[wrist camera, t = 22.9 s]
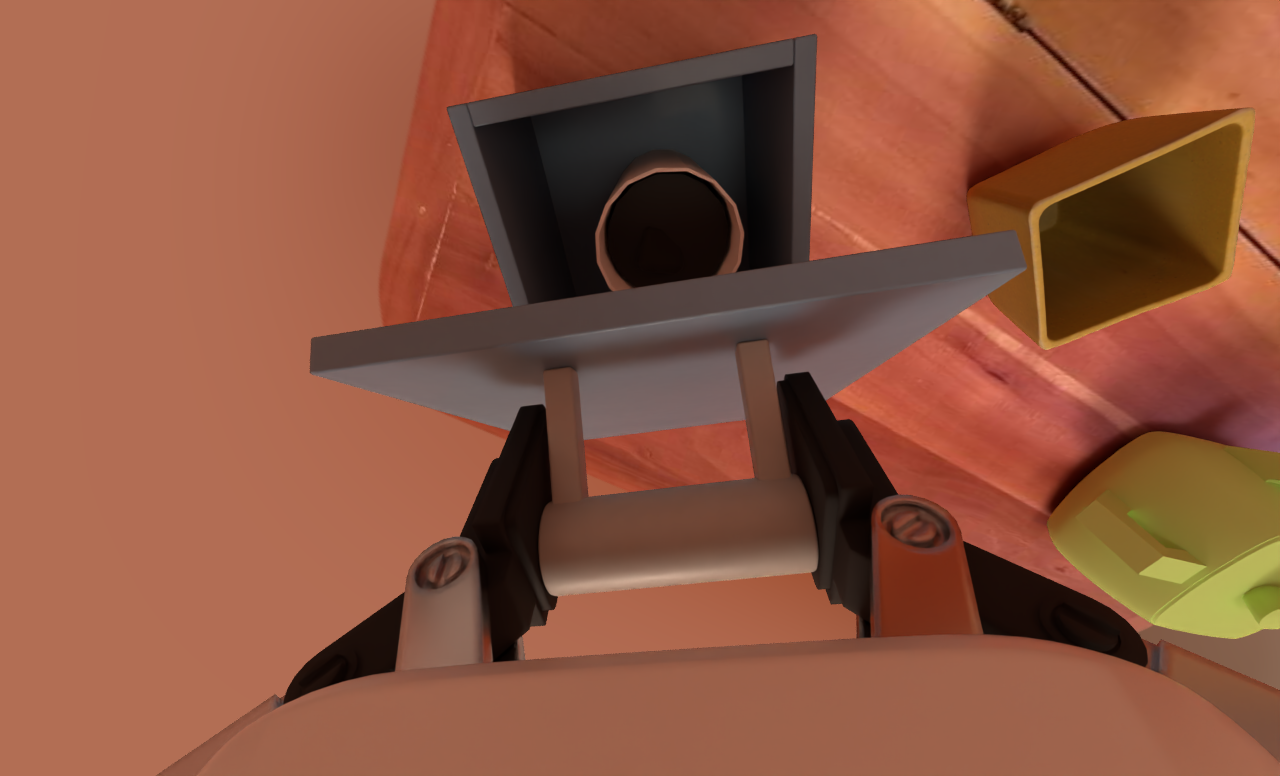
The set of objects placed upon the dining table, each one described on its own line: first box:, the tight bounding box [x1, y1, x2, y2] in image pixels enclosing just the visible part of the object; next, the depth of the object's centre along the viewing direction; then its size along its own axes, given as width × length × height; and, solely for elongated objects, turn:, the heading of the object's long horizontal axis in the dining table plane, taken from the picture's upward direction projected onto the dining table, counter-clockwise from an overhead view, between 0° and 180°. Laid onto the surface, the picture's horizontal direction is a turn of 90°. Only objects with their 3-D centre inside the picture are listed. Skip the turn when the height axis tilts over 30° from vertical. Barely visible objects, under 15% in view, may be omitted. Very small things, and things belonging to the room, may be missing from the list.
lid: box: [310, 230, 1027, 596], centre depth 16 cm, size 16×14×6 cm
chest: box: [447, 34, 817, 307], centre depth 26 cm, size 16×14×11 cm
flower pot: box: [967, 108, 1255, 350], centre depth 26 cm, size 9×9×9 cm
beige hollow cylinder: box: [595, 150, 744, 291], centre depth 25 cm, size 7×7×10 cm
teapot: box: [1047, 431, 1280, 639], centre depth 37 cm, size 18×20×13 cm
